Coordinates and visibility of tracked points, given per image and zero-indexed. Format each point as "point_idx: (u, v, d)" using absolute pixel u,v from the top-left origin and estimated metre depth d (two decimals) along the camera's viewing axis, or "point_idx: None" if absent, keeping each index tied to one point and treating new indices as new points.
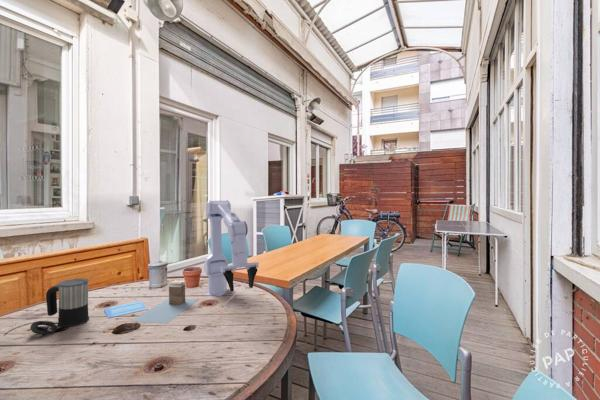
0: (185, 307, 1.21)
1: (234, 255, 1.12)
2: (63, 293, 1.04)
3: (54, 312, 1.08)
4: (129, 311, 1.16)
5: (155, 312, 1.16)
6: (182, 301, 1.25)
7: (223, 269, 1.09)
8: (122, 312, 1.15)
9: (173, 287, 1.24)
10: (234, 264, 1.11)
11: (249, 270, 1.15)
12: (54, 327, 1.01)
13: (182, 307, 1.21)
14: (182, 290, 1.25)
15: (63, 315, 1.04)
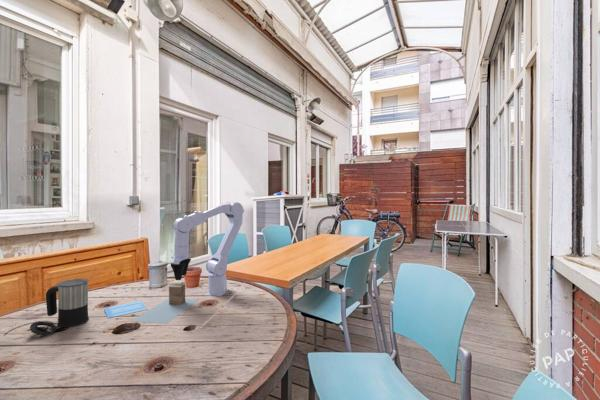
0: (185, 307, 1.21)
1: None
2: (63, 293, 1.04)
3: (54, 312, 1.08)
4: (129, 311, 1.16)
5: (155, 312, 1.16)
6: (182, 301, 1.25)
7: None
8: (122, 312, 1.15)
9: (173, 287, 1.24)
10: None
11: None
12: (54, 327, 1.01)
13: (182, 307, 1.21)
14: (182, 290, 1.25)
15: (63, 315, 1.04)
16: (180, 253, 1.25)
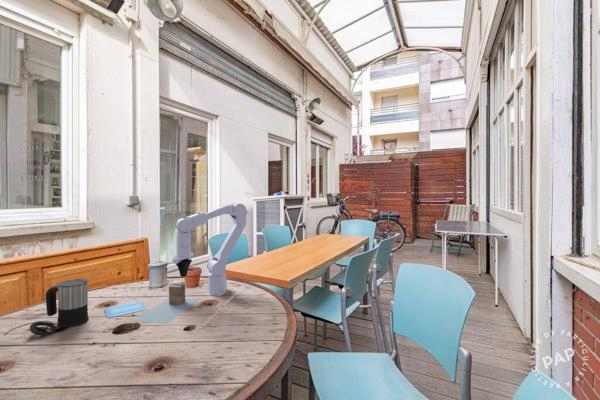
0: (185, 307, 1.21)
1: None
2: (63, 293, 1.04)
3: (54, 312, 1.08)
4: (129, 311, 1.16)
5: (155, 312, 1.16)
6: (182, 301, 1.25)
7: None
8: (121, 312, 1.15)
9: (173, 287, 1.24)
10: None
11: None
12: (53, 328, 1.01)
13: (182, 307, 1.21)
14: (182, 290, 1.25)
15: (63, 315, 1.04)
16: (181, 253, 1.28)
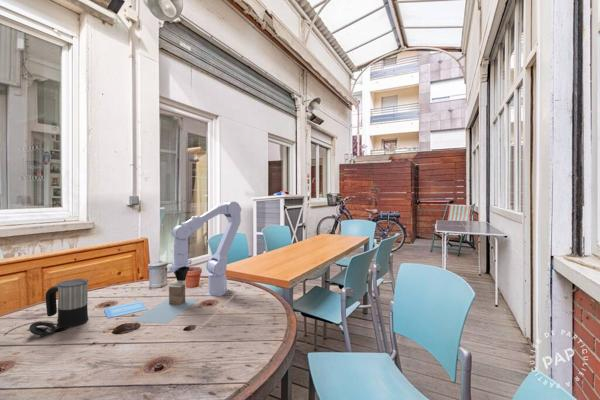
0: (185, 307, 1.21)
1: None
2: (63, 294, 1.04)
3: (53, 313, 1.08)
4: (129, 311, 1.16)
5: (155, 312, 1.16)
6: (182, 301, 1.25)
7: None
8: (121, 312, 1.15)
9: (173, 287, 1.24)
10: None
11: None
12: (53, 328, 1.01)
13: (182, 307, 1.21)
14: (182, 290, 1.25)
15: (63, 315, 1.04)
16: (178, 261, 1.26)
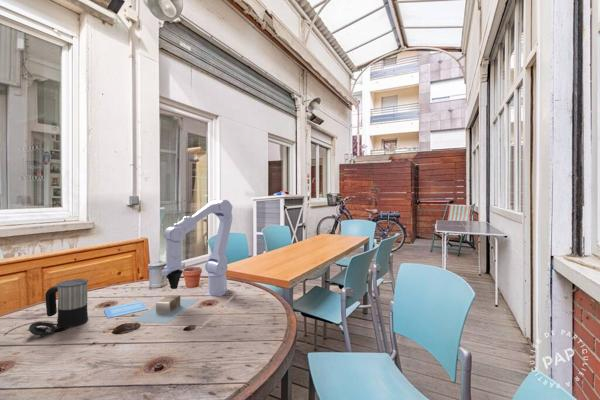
0: (185, 307, 1.21)
1: None
2: (62, 294, 1.03)
3: (53, 313, 1.08)
4: (129, 311, 1.16)
5: (155, 312, 1.16)
6: (179, 301, 1.23)
7: None
8: (121, 312, 1.15)
9: None
10: None
11: None
12: (53, 328, 1.01)
13: (182, 307, 1.21)
14: (172, 305, 1.18)
15: (62, 315, 1.04)
16: (171, 264, 1.20)
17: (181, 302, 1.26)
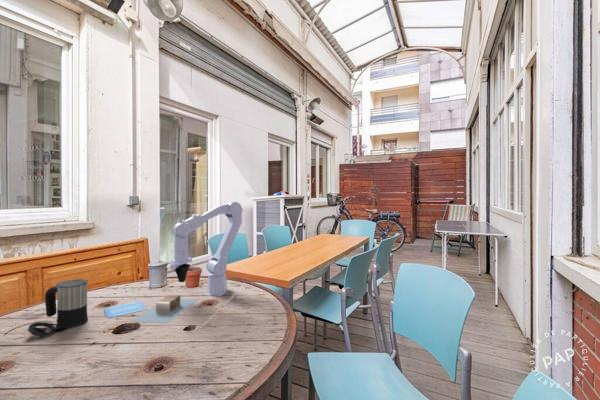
0: (185, 307, 1.21)
1: None
2: (62, 294, 1.03)
3: (53, 313, 1.07)
4: (129, 311, 1.16)
5: (155, 312, 1.16)
6: (179, 301, 1.23)
7: None
8: (121, 312, 1.15)
9: None
10: None
11: None
12: (52, 328, 1.00)
13: (182, 307, 1.21)
14: (172, 305, 1.18)
15: (62, 316, 1.03)
16: (179, 258, 1.26)
17: (181, 302, 1.26)
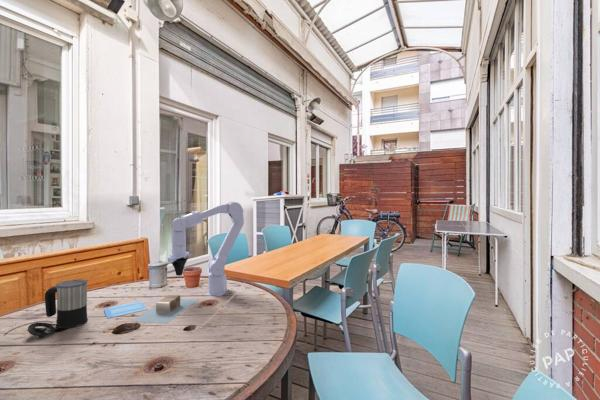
0: (185, 307, 1.21)
1: None
2: (61, 294, 1.03)
3: (53, 313, 1.07)
4: (129, 311, 1.16)
5: (155, 312, 1.16)
6: (179, 301, 1.23)
7: None
8: (121, 312, 1.15)
9: None
10: None
11: None
12: (52, 329, 1.00)
13: (182, 307, 1.21)
14: (172, 305, 1.18)
15: (62, 316, 1.03)
16: (176, 252, 1.30)
17: (181, 302, 1.26)
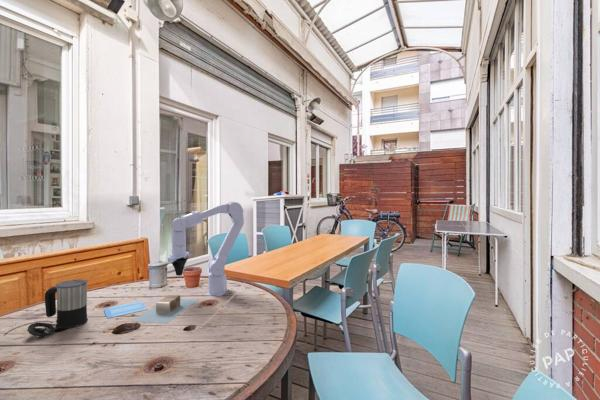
0: (185, 307, 1.21)
1: None
2: (61, 294, 1.03)
3: (53, 313, 1.07)
4: (129, 311, 1.16)
5: (155, 312, 1.16)
6: (179, 301, 1.23)
7: None
8: (121, 312, 1.15)
9: None
10: None
11: None
12: (52, 329, 1.00)
13: (182, 307, 1.21)
14: (172, 305, 1.18)
15: (61, 316, 1.03)
16: (176, 252, 1.30)
17: (181, 302, 1.26)
